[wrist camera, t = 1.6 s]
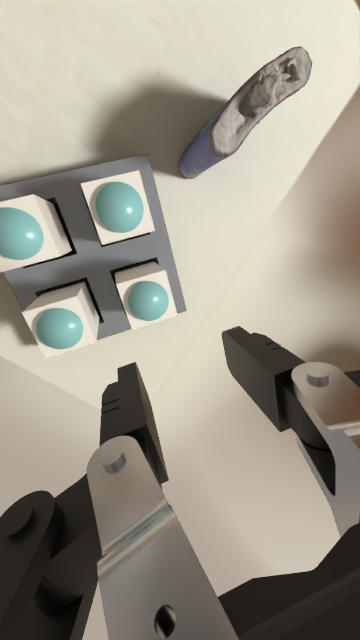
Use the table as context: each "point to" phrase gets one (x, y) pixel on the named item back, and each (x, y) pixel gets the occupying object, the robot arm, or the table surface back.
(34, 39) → the table surface
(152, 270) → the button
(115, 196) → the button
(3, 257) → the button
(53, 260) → the button board
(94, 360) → the table surface
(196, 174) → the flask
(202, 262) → the table surface
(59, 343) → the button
